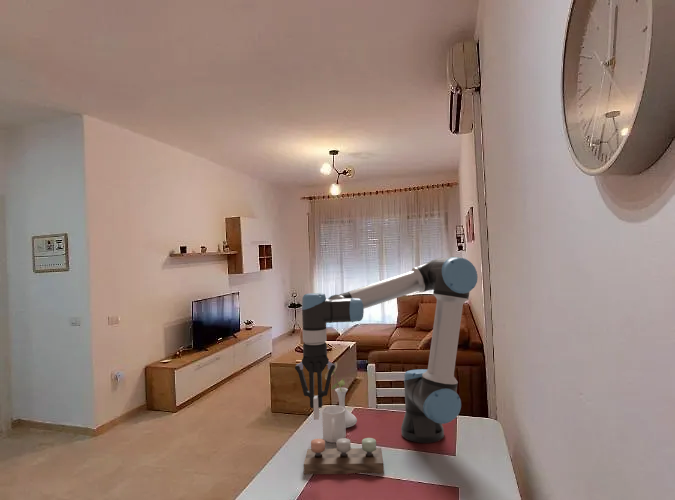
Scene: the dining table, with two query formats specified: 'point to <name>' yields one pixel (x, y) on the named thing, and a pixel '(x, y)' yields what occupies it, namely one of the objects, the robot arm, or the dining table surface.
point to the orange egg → (318, 446)
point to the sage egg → (369, 445)
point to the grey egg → (343, 446)
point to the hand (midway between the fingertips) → (316, 417)
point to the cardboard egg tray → (343, 462)
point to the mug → (333, 423)
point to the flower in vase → (343, 399)
